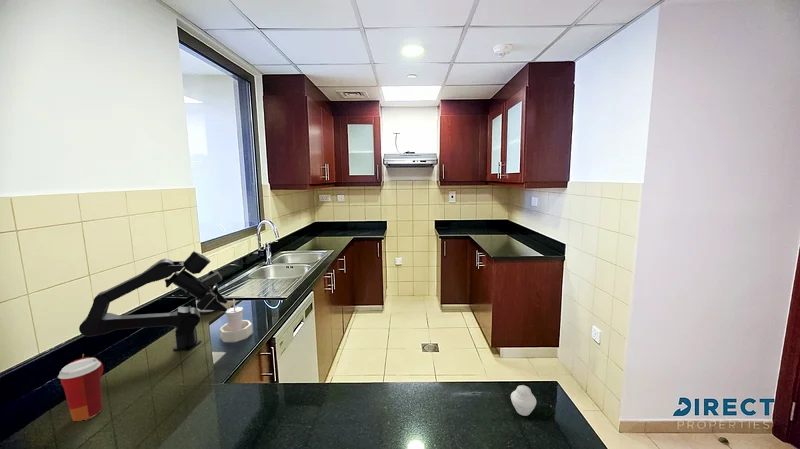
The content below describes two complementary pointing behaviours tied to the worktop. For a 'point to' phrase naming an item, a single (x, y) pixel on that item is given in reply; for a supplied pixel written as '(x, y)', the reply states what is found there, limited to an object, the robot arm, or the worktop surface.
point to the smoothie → (234, 317)
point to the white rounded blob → (523, 400)
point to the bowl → (236, 332)
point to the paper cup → (82, 388)
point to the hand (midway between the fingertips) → (226, 306)
